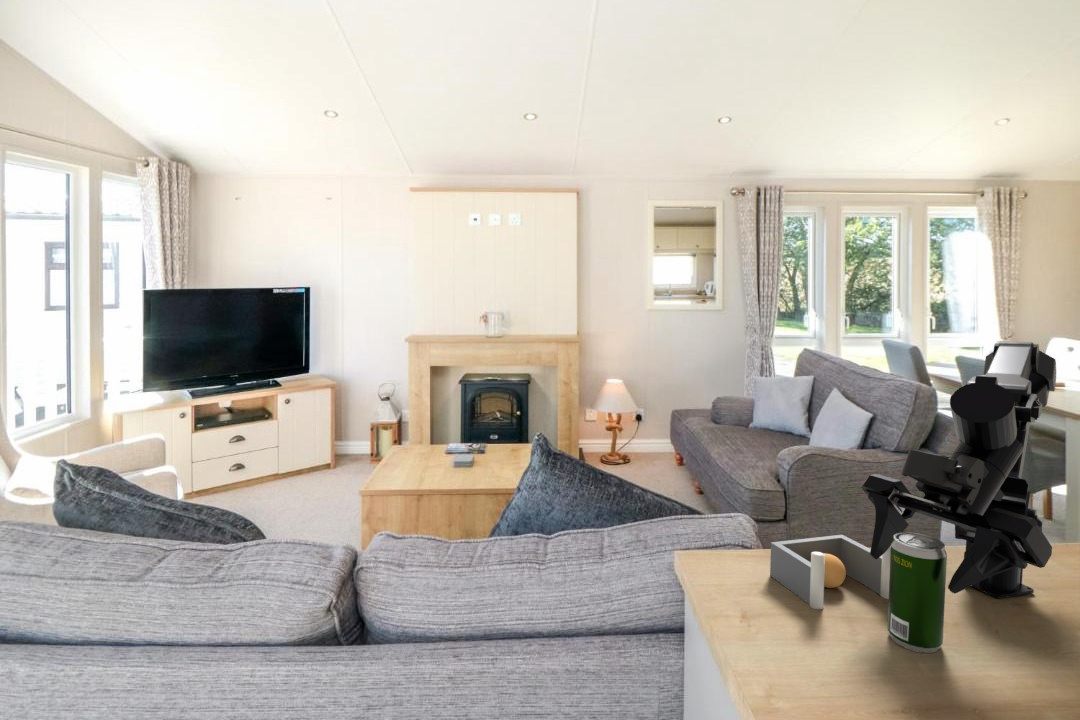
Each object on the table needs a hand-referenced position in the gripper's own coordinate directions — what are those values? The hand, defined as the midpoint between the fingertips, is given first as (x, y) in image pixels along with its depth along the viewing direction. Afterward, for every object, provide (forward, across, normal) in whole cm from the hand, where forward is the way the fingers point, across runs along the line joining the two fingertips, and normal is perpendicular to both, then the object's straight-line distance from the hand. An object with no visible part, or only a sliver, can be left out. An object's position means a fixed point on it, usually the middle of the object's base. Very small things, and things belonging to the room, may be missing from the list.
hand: (909, 572), depth 65 cm
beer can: (+5, 0, +6) cm, 8 cm away
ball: (+1, -15, +5) cm, 16 cm away
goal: (+4, -13, +8) cm, 16 cm away
